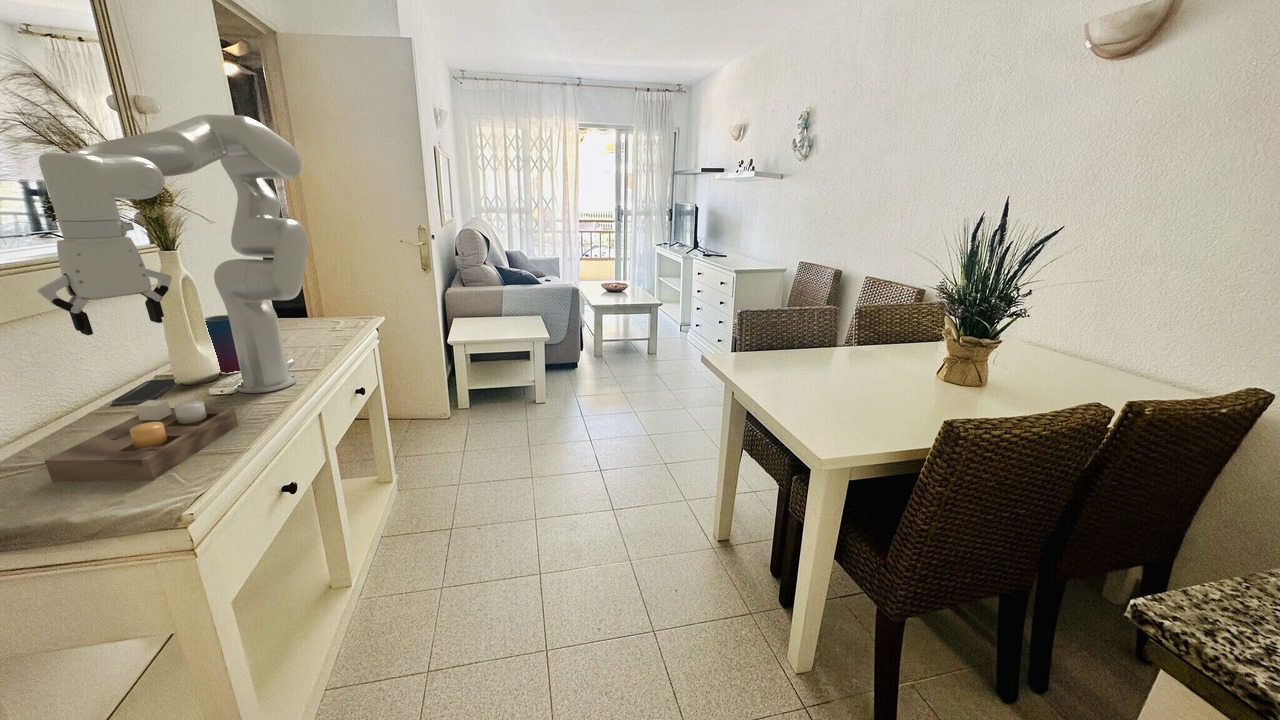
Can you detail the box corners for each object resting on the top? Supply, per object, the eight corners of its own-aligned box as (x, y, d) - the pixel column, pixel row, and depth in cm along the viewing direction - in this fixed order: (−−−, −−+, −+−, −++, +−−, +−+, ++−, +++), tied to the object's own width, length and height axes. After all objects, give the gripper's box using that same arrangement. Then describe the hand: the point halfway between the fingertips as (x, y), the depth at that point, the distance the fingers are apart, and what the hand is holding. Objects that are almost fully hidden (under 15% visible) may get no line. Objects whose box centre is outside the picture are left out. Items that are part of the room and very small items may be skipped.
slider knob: (152, 414, 103) (148, 400, 102) (171, 413, 104) (167, 400, 103) (139, 420, 101) (135, 406, 100) (159, 420, 101) (155, 406, 100)
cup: (243, 366, 144) (231, 313, 139) (250, 371, 140) (238, 317, 135) (212, 371, 139) (199, 317, 134) (219, 377, 135) (206, 322, 130)
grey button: (189, 414, 104) (185, 400, 103) (212, 414, 104) (208, 400, 103) (171, 423, 99) (167, 409, 99) (196, 423, 100) (192, 409, 99)
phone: (109, 402, 116) (147, 380, 130) (110, 407, 117) (148, 384, 130) (152, 399, 119) (185, 377, 132) (153, 404, 119) (186, 381, 132)
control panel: (157, 425, 108) (152, 407, 106) (238, 425, 109) (234, 407, 108) (52, 481, 87) (44, 460, 86) (153, 480, 88) (147, 458, 87)
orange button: (147, 436, 94) (143, 421, 93) (173, 436, 95) (169, 421, 94) (127, 448, 90) (122, 432, 89) (154, 447, 90) (149, 432, 89)
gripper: (147, 226, 97) (171, 315, 102) (9, 232, 82) (47, 335, 88) (167, 229, 93) (191, 320, 99) (27, 236, 79) (65, 342, 84)
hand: (123, 327), depth 93 cm, fingers open, 9 cm apart
